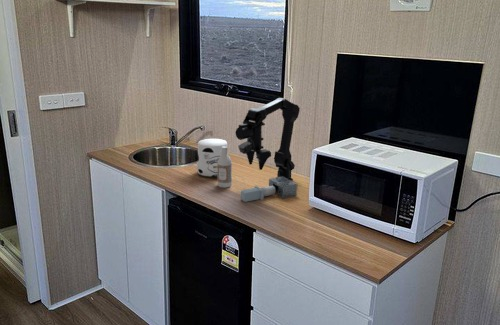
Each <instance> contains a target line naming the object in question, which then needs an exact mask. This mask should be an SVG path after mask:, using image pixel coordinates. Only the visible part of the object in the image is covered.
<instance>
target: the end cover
mask: <svg viewBox="0 0 500 325" xmlns="http://www.w3.org/2000/svg"><path fill="white" fill-rule="evenodd" d="M276 193H277V192H276V190H275V187H274V186H269V185H268V186H262V187H259V186H257V185H255V186H254V187H252V188H247V189H242V190H240V200H242V201H243V202H245V203H246V202H251V201H257V200H261V201H264V197H268V196H273V195H275V194H276Z"/></svg>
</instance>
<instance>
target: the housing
mask: <svg viewBox="0 0 500 325" xmlns="http://www.w3.org/2000/svg"><path fill="white" fill-rule="evenodd" d="M268 186H274V187H275V190H276V192H275V193H277V192H278V197H279V198H280V199H286V198H287V199H288V198H292V197H297V193H298V192H297V191H298V183H296V182H295V181H293V180H289V179H287V178H285V177H283V176H282V177H277V176H276V177H272V178H269V179H268Z"/></svg>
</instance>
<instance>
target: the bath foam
mask: <svg viewBox="0 0 500 325" xmlns="http://www.w3.org/2000/svg"><path fill="white" fill-rule="evenodd" d="M221 152H222V154H221V156H220V157H219V159H218V163H217V170H218V177H217V186H218V188H222V189H224V188H226V189H227V188H230V187H231V186H232V184H233V183H232V181H233V180H232V177H233V176H232V168H233V167H232V165H233V164H232V159H231V157H230V155H229V153H228V146H227V147H226V146H222V147H221Z"/></svg>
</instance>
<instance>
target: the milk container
mask: <svg viewBox="0 0 500 325" xmlns="http://www.w3.org/2000/svg"><path fill="white" fill-rule="evenodd" d="M222 146H226V147H227V148H228V142H227V140H225V139H221V138H205V139H201V140H199V141H198V142H197V162H196V171H197V173H198V175H200V176H202V177H206V178H218V170H217V163H218V159H219V157H220V156H221V154H222V152H221V147H222Z"/></svg>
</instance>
